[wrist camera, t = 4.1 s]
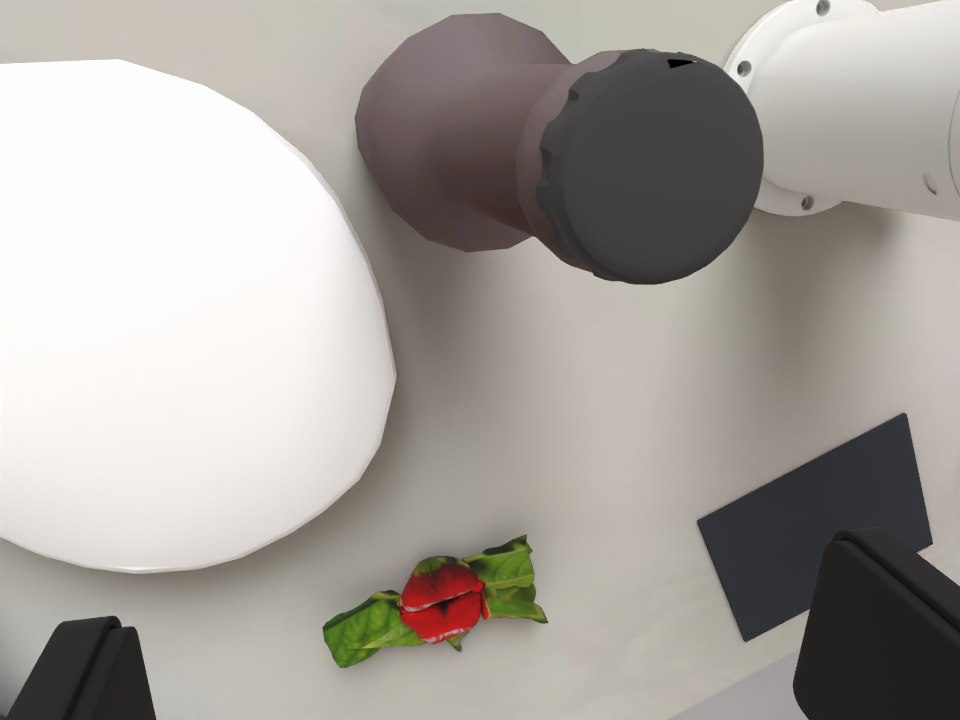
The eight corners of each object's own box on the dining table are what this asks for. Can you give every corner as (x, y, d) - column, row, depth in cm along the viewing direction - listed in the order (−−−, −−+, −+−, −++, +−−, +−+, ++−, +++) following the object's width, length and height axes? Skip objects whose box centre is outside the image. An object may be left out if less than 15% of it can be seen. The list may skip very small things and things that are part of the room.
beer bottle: (516, 114, 38) (999, 124, 10) (436, 222, 39) (673, 495, 11) (408, 20, 35) (667, -316, 7) (327, 140, 36) (287, 236, 9)
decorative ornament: (533, 534, 44) (564, 654, 47) (512, 504, 49) (541, 616, 52) (311, 618, 41) (357, 741, 44) (309, 578, 46) (352, 693, 49)
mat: (903, 412, 51) (906, 414, 51) (930, 541, 56) (933, 543, 56) (696, 520, 51) (698, 523, 50) (743, 639, 56) (745, 642, 56)
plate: (-367, 322, 29) (74, -100, 27) (-234, 296, 35) (133, -49, 33) (135, 692, 37) (502, 388, 35) (172, 617, 43) (485, 356, 41)
